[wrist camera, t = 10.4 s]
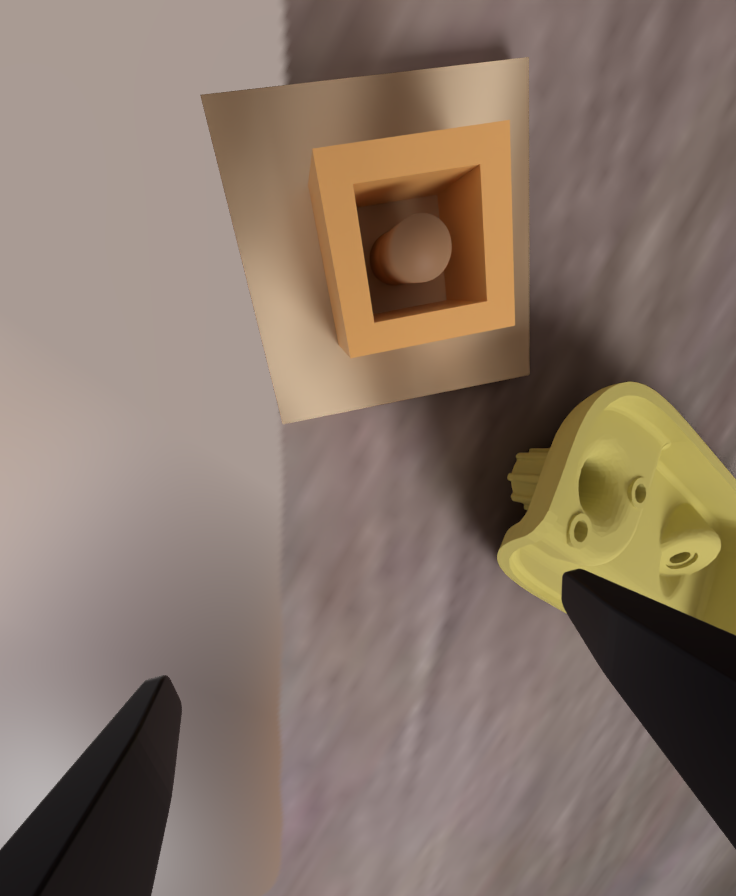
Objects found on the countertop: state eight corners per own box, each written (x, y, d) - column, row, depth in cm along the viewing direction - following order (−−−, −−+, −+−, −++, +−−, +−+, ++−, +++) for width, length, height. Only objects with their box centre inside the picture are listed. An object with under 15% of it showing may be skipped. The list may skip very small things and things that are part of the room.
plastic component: (779, 531, 25) (742, 695, 22) (649, 513, 31) (609, 638, 29) (614, 334, 16) (528, 561, 14) (483, 365, 23) (411, 524, 21)
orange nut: (459, 161, 16) (510, 119, 12) (469, 319, 18) (515, 325, 14) (308, 184, 15) (312, 148, 11) (338, 345, 17) (350, 358, 14)
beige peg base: (515, 71, 16) (606, -22, 11) (518, 371, 20) (584, 393, 16) (206, 107, 15) (165, 20, 10) (283, 417, 19) (279, 457, 14)
